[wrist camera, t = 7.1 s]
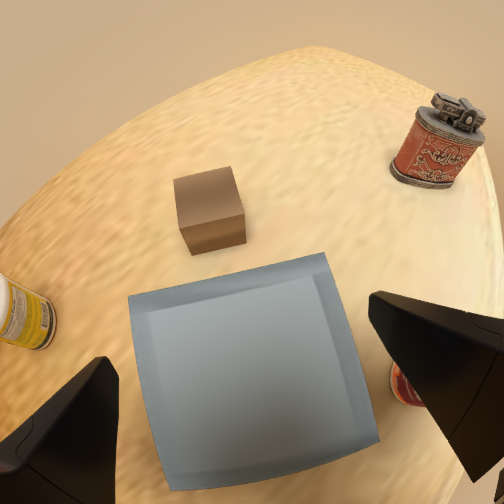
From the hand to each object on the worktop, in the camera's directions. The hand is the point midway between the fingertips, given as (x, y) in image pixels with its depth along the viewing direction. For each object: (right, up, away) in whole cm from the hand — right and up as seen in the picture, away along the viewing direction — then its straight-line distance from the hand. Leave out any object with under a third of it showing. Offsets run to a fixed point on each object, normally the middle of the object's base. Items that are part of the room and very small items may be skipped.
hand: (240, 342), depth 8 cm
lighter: (+18, +10, +15) cm, 25 cm away
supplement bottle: (-17, -3, +9) cm, 20 cm away
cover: (0, -5, +7) cm, 9 cm away
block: (-2, +5, +13) cm, 14 cm away
